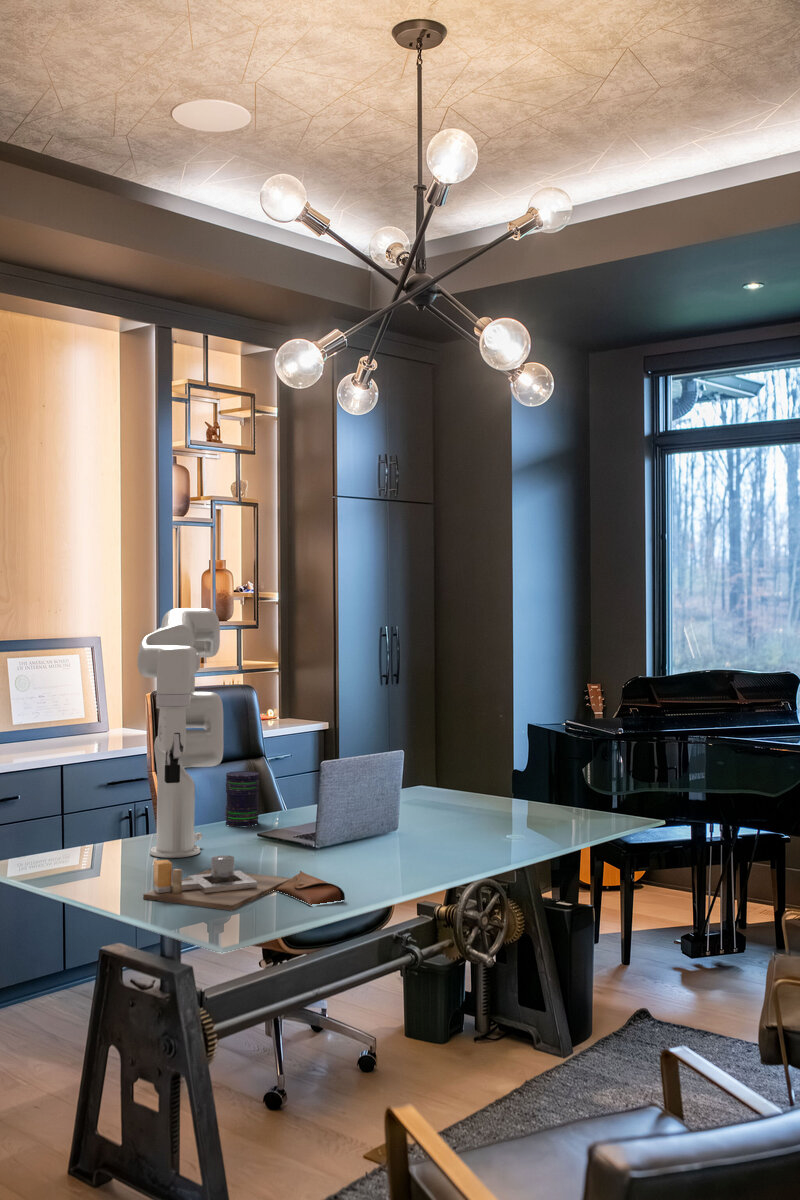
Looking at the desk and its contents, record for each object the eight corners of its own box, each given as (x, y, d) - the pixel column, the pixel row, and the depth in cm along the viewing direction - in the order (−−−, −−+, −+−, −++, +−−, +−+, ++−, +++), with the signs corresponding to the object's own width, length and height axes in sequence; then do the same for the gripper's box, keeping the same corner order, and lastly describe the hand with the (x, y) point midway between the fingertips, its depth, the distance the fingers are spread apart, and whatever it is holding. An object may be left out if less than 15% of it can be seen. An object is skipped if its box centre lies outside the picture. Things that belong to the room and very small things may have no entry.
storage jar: (228, 820, 319) (229, 770, 319) (261, 821, 319) (261, 771, 319) (221, 827, 309) (222, 775, 309) (255, 827, 309) (256, 776, 309)
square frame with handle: (239, 875, 244) (239, 848, 244) (257, 887, 234) (257, 859, 234) (148, 885, 235) (149, 857, 235) (162, 897, 224) (163, 868, 224)
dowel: (175, 891, 230) (175, 868, 230) (183, 892, 229) (183, 869, 229) (170, 893, 228) (170, 870, 228) (178, 894, 227) (178, 871, 227)
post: (218, 881, 239) (219, 854, 240) (238, 883, 238) (238, 856, 238) (206, 886, 235) (207, 859, 235) (226, 888, 233) (226, 861, 233)
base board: (209, 873, 251) (209, 869, 252) (291, 882, 243) (291, 878, 243) (143, 898, 227) (143, 894, 228) (231, 910, 219) (231, 905, 219)
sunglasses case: (269, 889, 236) (283, 861, 238) (292, 901, 240) (306, 874, 242) (312, 907, 222) (326, 878, 224) (336, 920, 225) (349, 891, 227)
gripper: (151, 699, 247) (150, 778, 246) (162, 704, 233) (161, 788, 232) (183, 699, 250) (182, 777, 249) (196, 703, 236) (195, 786, 235)
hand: (172, 782), depth 241 cm, fingers closed
